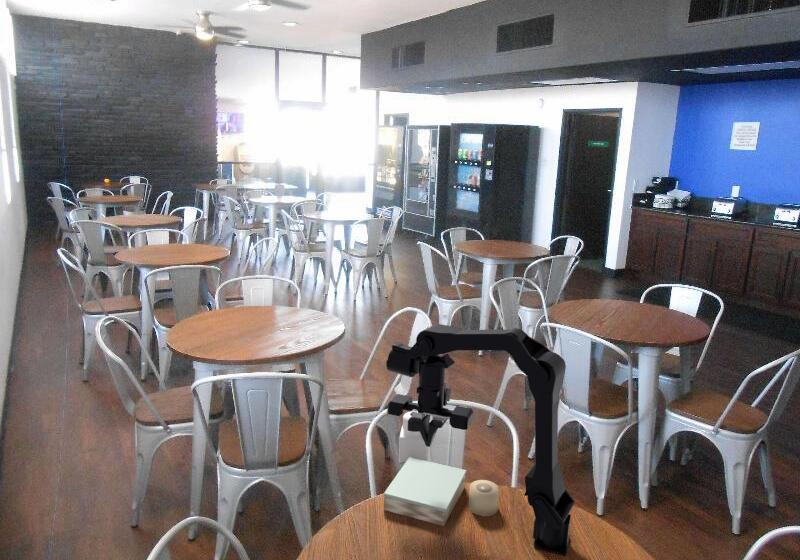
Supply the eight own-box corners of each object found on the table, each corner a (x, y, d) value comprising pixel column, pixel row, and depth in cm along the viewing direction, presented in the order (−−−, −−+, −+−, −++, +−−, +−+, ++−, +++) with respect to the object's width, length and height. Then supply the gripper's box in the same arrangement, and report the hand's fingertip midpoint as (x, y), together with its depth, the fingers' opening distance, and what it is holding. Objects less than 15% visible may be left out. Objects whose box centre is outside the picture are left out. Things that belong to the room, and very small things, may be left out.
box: (464, 487, 141) (465, 475, 140) (443, 526, 126) (444, 513, 125) (409, 473, 146) (410, 462, 145) (383, 509, 131) (384, 497, 130)
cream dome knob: (500, 503, 135) (501, 483, 134) (493, 519, 129) (495, 498, 128) (472, 496, 137) (474, 477, 136) (465, 512, 131) (466, 491, 130)
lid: (466, 473, 140) (466, 470, 139) (446, 512, 126) (446, 509, 125) (409, 459, 145) (409, 457, 145) (383, 496, 131) (383, 493, 131)
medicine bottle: (428, 451, 157) (429, 409, 154) (426, 465, 150) (428, 421, 147) (401, 449, 157) (402, 407, 155) (398, 463, 150) (399, 419, 148)
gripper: (481, 376, 134) (477, 438, 138) (405, 362, 141) (403, 422, 145) (468, 394, 124) (464, 461, 128) (387, 379, 131) (385, 443, 135)
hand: (428, 445), depth 134 cm, fingers closed
